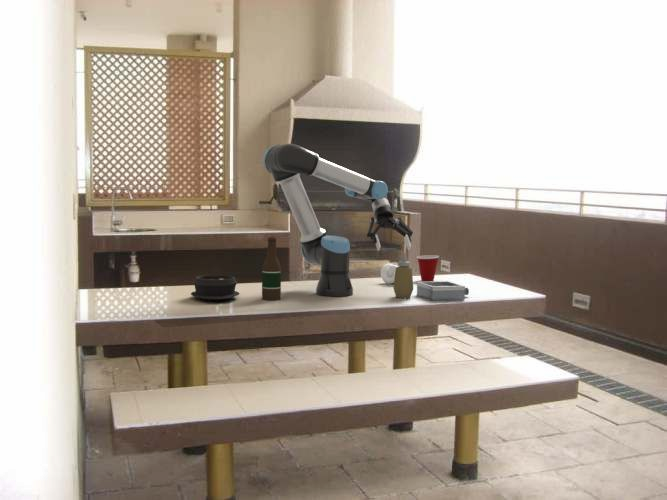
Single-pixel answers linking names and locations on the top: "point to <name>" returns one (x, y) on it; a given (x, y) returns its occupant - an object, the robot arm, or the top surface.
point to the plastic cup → (427, 266)
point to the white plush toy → (391, 273)
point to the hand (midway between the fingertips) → (394, 248)
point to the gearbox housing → (441, 290)
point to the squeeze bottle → (403, 279)
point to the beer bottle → (271, 273)
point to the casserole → (215, 287)
